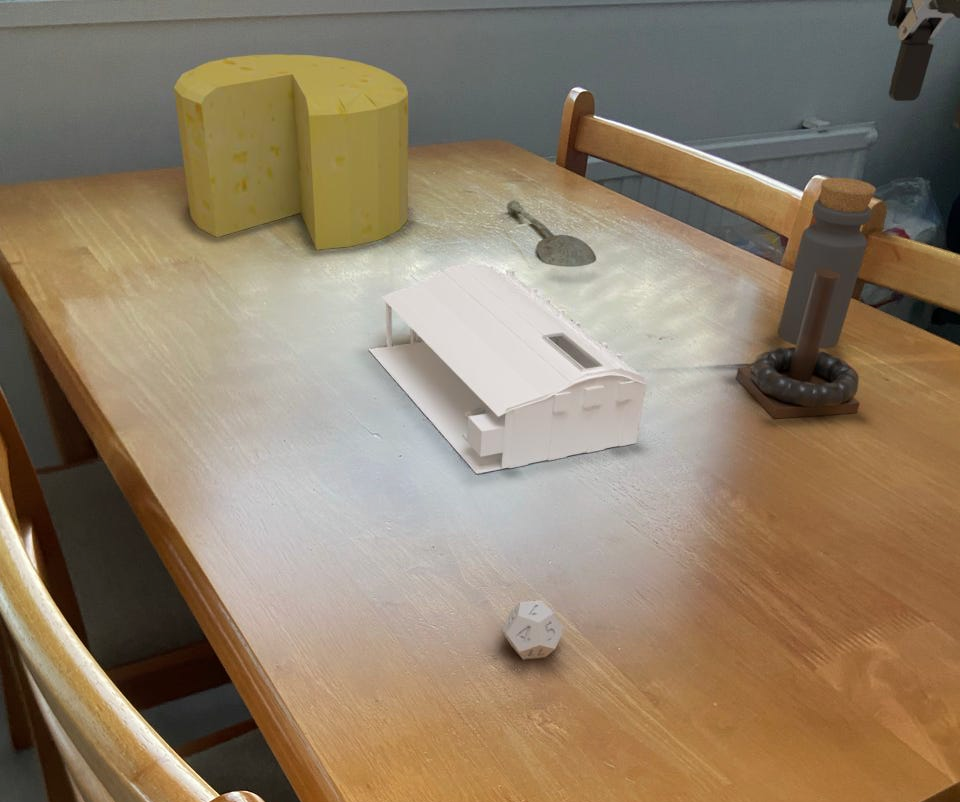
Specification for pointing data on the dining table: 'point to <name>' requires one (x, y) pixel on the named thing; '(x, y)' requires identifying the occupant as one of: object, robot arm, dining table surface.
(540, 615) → the game die
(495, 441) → the toy hangar
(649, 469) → the dining table surface
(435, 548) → the dining table surface
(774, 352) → the ring
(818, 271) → the peg stand
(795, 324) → the bottle
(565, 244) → the soupspoon
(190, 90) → the cheese
